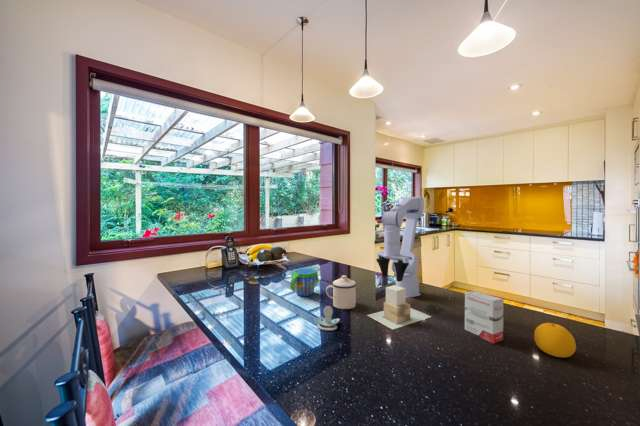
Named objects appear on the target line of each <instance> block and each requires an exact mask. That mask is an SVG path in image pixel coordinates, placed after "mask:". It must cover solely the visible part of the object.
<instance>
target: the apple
mask: <svg viewBox="0 0 640 426" xmlns="http://www.w3.org/2000/svg"><path fill="white" fill-rule="evenodd" d="M533 333H534V335H533V339H534V342H535V344H536V346H537V347H538V348H539V349H540V351H543V352H544V353H545V354H548V355H550V356H553V357H556V358H563V359H564V358H569V357H572V355H574V353H575V352H576V349H577V345H576V340H575V338H574V336H573V334H572V333H571V332H570V331H569V330H568V329H566V328H565V326H562V325H560V324H557V323H552V322H544V323H541V324H539V325H538V326H536V328H535V329H534V332H533Z"/></svg>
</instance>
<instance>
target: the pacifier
mask: <svg viewBox="0 0 640 426" xmlns="http://www.w3.org/2000/svg"><path fill="white" fill-rule="evenodd" d="M333 313H334V311H333V307H332V306H330V305H326V306H325V307H324V308H323V315H324V317H323V316H317V317H316V321H317V323H318V324H317V325H316V327H317V329H318V330H320V331H321V330H322V331H334V330H335V331H336V330H337V329H338V326H337V325H336V324H338V323H339V322H340V320H341V319H340V318H334V319H332V315H333Z"/></svg>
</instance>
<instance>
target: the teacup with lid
mask: <svg viewBox="0 0 640 426" xmlns="http://www.w3.org/2000/svg"><path fill="white" fill-rule="evenodd" d="M331 283H332V285H331V284H329V285H328V286H326V289H325V294H326V296H327V297H328V298H330V299H332V306H333V308H334V307H335V308H336V309H341V310H350V309H354V308H355V307H356V306H357V304H356V303H357V293H356V290H357V287H356V286H357V282H356V281H355V280H353V279H350V278H349V277H348V276H347V275H341V277H340V278H337V279H335V280H333V282H331ZM330 288H331V289H332V295H331V294H330V292H329V289H330Z"/></svg>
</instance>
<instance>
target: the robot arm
mask: <svg viewBox="0 0 640 426" xmlns="http://www.w3.org/2000/svg"><path fill="white" fill-rule="evenodd" d="M424 205H425V200H424V197H422V196H405V197H404V196H401V197H400V198H399V200H398V203H395V204H394V206H392V208H391V209H390V210H389V211H385V212H383V214H382V216H381V223H382V230H383V232H384V233H383V235H384V243H383V244H384V245H383V246H384V247H383V250H384V251H377V252H376V257H377V258H376V262H377V263H378V267H379V268H380V273H381V277H383V278H385V277H388V275H389V265H391V266H390V267H391V271H392V272H393V274H394V275H395V285H396V286H399V287H402V288H405V299H407V298H414V297H418V296H421V293H420V282H419V281H420V279H419V276H418V275H417V273H418V270H419V269H418V267H419V266H418V264H419V263H418V262H419V260H418V256H417V255H416V254H415V253H413V249H414V245H415V244H414V243H415V238H416V232H417V226H418V221H419V219H420V218H422V217H423V214H424V209H425V206H424ZM404 218H405V220H406V221H405V225H404V230H403V237H402V242H401V227H402V225H403V221H404ZM390 260H391V264H390Z"/></svg>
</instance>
